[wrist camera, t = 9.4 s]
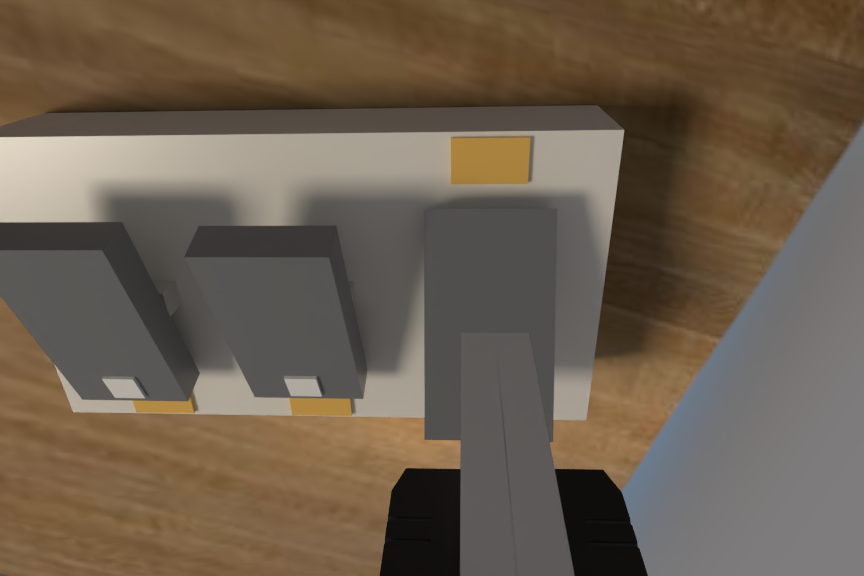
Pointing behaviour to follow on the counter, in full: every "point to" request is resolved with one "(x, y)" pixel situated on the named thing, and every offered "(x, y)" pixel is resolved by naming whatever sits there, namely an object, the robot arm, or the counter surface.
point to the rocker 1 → (94, 310)
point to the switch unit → (328, 219)
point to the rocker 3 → (485, 298)
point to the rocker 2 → (283, 308)
